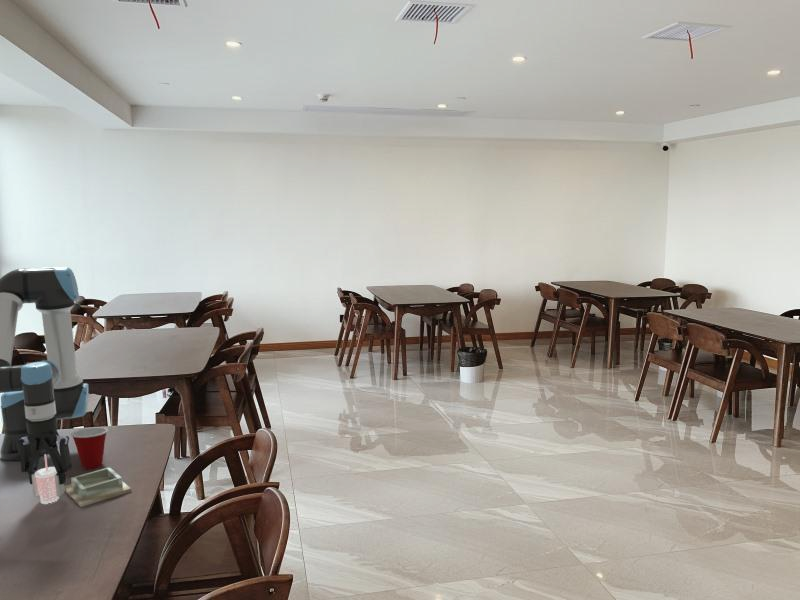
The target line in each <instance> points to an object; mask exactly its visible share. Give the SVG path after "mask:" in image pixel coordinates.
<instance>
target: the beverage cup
mask: <svg viewBox="0 0 800 600" xmlns="http://www.w3.org/2000/svg"><path fill="white" fill-rule="evenodd" d="M43 456H44V457H43V458H44V463H45V464H44V466H45V467H43V468H40V469H38V470H37V471H36V472H35V477H36V479H37V484H38V490H39V495H38V496H39V499H40V504H43V505H49V504H48V503H51V504H53V503H52V502H54V503H56V502H58V501H59V500H60V496H57V494H56V484H55V474H57V471H56V469H55V467H54V466H48V459H47V453H45V454H43ZM58 499H59V500H58ZM57 500H58V501H57ZM55 501H56V502H55Z"/></svg>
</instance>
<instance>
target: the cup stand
mask: <svg viewBox="0 0 800 600" xmlns="http://www.w3.org/2000/svg"><path fill="white" fill-rule="evenodd" d="M64 489H65V492H66V493H67V495H68V496H71V497H72V498H73V499H74V500H75V501H74V500H73V499H72V498H71V497H70V498H71V499H72V500H73V501H74V502H75V504H76V505H78V507H79V506H80V507H79V508H84V507H86V506H90V505H92V504H96V503H99V502H102V501H106V500H108V499H111V498H112V499H113V498H115V497H118V496H121V495H124V494H128V493H131V492H132V487H130V486H129V485H127V483H126V482H124V481H123V478H122V476H121V475H119V474H118V472H116V471H115V470H114V469H112V468H111V467H110V466H109V467H105V468H102V469H97V470H95V471H91V472H88V473H84V474H79V475H76V476H73V477H70V484H67V485H64Z"/></svg>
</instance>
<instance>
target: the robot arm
mask: <svg viewBox="0 0 800 600" xmlns="http://www.w3.org/2000/svg"><path fill="white" fill-rule="evenodd" d="M78 287H79V286H78V283H77V279H76V276H75V273H74V272H73V270H72V269H71V268H70V267H67V266H48V267H45V266H44V267H29V268H17V269H13V270H11V271H9V272H7V273H5V274H4V275H2V276H1V277H0V394H1V396H0V409H1V416H2V424H3V425H2V426H3V432H4V433H3V434H4V436H3V438H2V442H1V447H0V458H1V460H3V459H4V461H13V462H15V461H20V468H21V469H20V470H21V472H22V473H27V474H28V477H29V478H28V479H29V483H30V485H32V492H33V497H38V496H40V495H39V490H38V484H37V479H36V477H35V472H36V471H38V470H39V468H38V466H39V462H40V457H41V456H42V455H43V456H44V454H48V455H49V458H50V460H51V462H52V464H53V467H55V469H56V471H57V474H55V484H56V494H57V496H59V497H60V496H62V495H63V494H64V493H65V492H66V491H65V489H64V486H65V483H66V482H67V476H66V473H67V472H68V471H70V470H71V469H72V468H73V465H72V459H71V452H70V448H69V447H70V446H69V441H70V437H69V436H67V435H66V436H61V435H60V434H59V432H58V421H59V420H61V421H62V420H68V419H71V420H72V419H74V418H75V419H76V418H80V417H81V418H82V417H84V416H85V415H86V413H87V410H88V405H89V403H88V402H89V384H88V383H84V379H83V377H81V375H78V368H77V358H76V349H75V340H74V332H73V323H72V314H71V311H72V309H73V308H74V307H75V302H76V301H78V300H79V298H80V293H79V288H78ZM24 304H35V309H36V310H37V311H38V312H40V313H41V318H42V327H43V334H44V341H45V349H46V351H45V352H46V358H47V359H46V360H45V359H44V360H43V359H42V360H40V361H35V362H30V363H29V362H28V363H26V364H19V365H12V361H13V351H14V346H15V344H14V343H15V340H16V339H15V336H16V329H17V323H18V317H19V316H18V315H19V311H21V310H22V308H23V305H24ZM58 447H59V449H58Z"/></svg>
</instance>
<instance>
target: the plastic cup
mask: <svg viewBox="0 0 800 600" xmlns="http://www.w3.org/2000/svg"><path fill="white" fill-rule="evenodd" d="M108 431H109V430H108V428H106V427H100V426H99V427H97V426H96V427H87V428H83V429H78V430H75V431H73V432H71V434H70V435H71V437H72V438H73V441H74V444H75V447H76V450H77V454H78V458H79V460H80V464H81V467H82V468H83V469H84V470H92V469H93V468H94V469H97V468H99V466H100V467H101V466H102V465H103V463H104V462H103V459H104V452H105V451H104V450H105V443H106V438H107V437H106V436H107V433H108Z"/></svg>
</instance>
